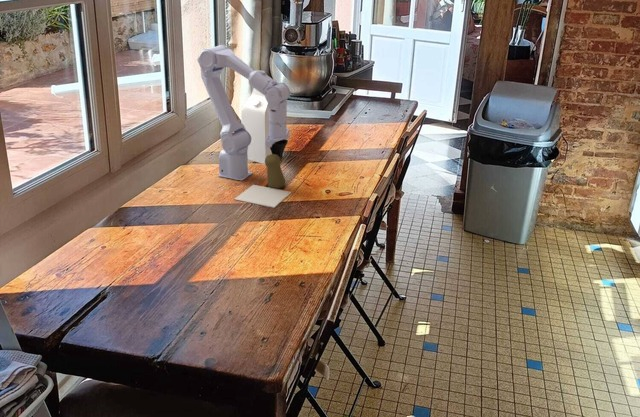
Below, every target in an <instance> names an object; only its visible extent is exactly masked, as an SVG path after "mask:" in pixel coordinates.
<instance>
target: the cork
mask: <svg viewBox="0 0 640 417" xmlns="http://www.w3.org/2000/svg"><path fill="white" fill-rule="evenodd" d="M281 162H282V160H281V159H280V157H279V156H278V155H276V154H270V155H268V156H267V157H266V158H265V164H264V165H265V166H266V169H267V174H266V175H267V186H268V188H273V189H281V188H283V187H284V186H285V185H286V179H285V176H284V173H283V170H282V166H281Z"/></svg>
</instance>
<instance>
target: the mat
mask: <svg viewBox="0 0 640 417" xmlns="http://www.w3.org/2000/svg"><path fill="white" fill-rule="evenodd" d="M291 194H292V191H289V190H283V189H280V188H278V189H273V188H270V187H269V186H268V187H266V186H262V185H256V184H252V185H251V186H250V187H248V188H246V190H244V191H243V192H241V193H240V194H239V195H238V196H236V197H235V198H234V199H233V200H234V201H237V202H242V203H249V204H253V205H258V206H262V207H268V208H273V209H274V208H276V207H277V206H278V205H279V204H280V203H282V201H284V200H285V199H286V198H287V197H288V196H289V195H291Z"/></svg>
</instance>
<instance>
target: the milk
mask: <svg viewBox="0 0 640 417" xmlns="http://www.w3.org/2000/svg"><path fill="white" fill-rule="evenodd" d="M240 117H241V119H240V123H242V124H243V125H244V127H245V129H246V130H247V131H248V132H249V133H250V135H251V143H250V145H249V146H248V149H247V155H248V161H253V162H254V163H255V162H256V163H259V164H264V165H265V158H266V157H267V156H268V155H270V154H272V152H271V150H270V148H269V147H265V141H266V140H267V137H268V134H269V107H268V102H267V100H266V98H265V96H264V95H263V94H262V93H260V92H259V91H257V90H256V89H255V88H253V89H252V91H251V95H250V96H249V97H248V99H247V100H246V101H245V103H244V104H243V107H242V109H241V115H240ZM284 156H285V151H284V152H283V156H282V157H284Z"/></svg>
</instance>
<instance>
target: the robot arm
mask: <svg viewBox="0 0 640 417" xmlns="http://www.w3.org/2000/svg"><path fill="white" fill-rule="evenodd" d="M196 60H197V63H198V64H199V68H200V75H201V76H200V77H201V80H202V82H203V85H204V86H205V89H206V92H207V95H208V97H209V98H210V99H209V100H210V102H211V104H212V106H213V108H214V111H215V114H216V116H217V118H218V121H219V123H220V125H221V130H220V133H219V136H220V139H221V147H222V150H221V151H220V152H219V155H218V172H219V173H218V175H217V177H220V178H225V179H231V180H237V181H241V182H243V181H244V180H246V179H247V178H248V177H250V176H251V175H252V174H253V171H250V170H249V169H248V168H249V165H248V163H249V162H248V161H249V160H248V155H247V149H248V146H249V145H250V143H251V135H250V133H249V132H248V131H247V130H246V129H245V127H244V125H243V124H242V123H241V121H239V120H238V119H237V117H236V114H235V111H234V110H233V106H232V104H231V102H230V100H229V97H228V95H227V93H226V90H225V87H224V86H223V83H222V81H221V78H220V76H221V74H222V71H223V70H224V68H229V69H230V70H233V71H234V72H236V73H237V74H239V75H240V76H242V77H244V78H245V79H247V80H248V85H249V86H251V87H252V88H253V89H254V88H255V89H256V90H257V91H259V92H260V93H262V94H263V95H264V96H265V98H266V100H267V102H268V107H269V134H268V137H267V140H266V141H265V147H269V148H270V150H271V152H272V154H276V155H278V156H279V157H280V159H281V161H282V160H283V157H284V156H283V152H284V153H285V149H286V146H287V144H288V143H289V142H288V141H289V139H290V137H291V136H290V128H287V124H288V123H287V122H288V120H287V114H288V112H287V107H288V105H287V102H288V101H287V100H288V99H289V98H290V96H291V90H290V87H289V86H288V85H287V84H286V83H285V82H282V81H281V82H278V80H277V79H273V78H272V77H270V76H269V75H268V74H267V73H266V71H264V70H259V69H258V70H254V69H253V68H252V67H251V66H249V65H248V64H247V63H246V62H244V61H243V60H242V59H241V58H240V57H238V55H236V54H235V53H234V51H233V49H230V48H229V47H228V46H226V45H224V44H219V45H216V46H213V47H209V48H203V49H202V50H200V52H199V55H198V57H197V59H196Z"/></svg>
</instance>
